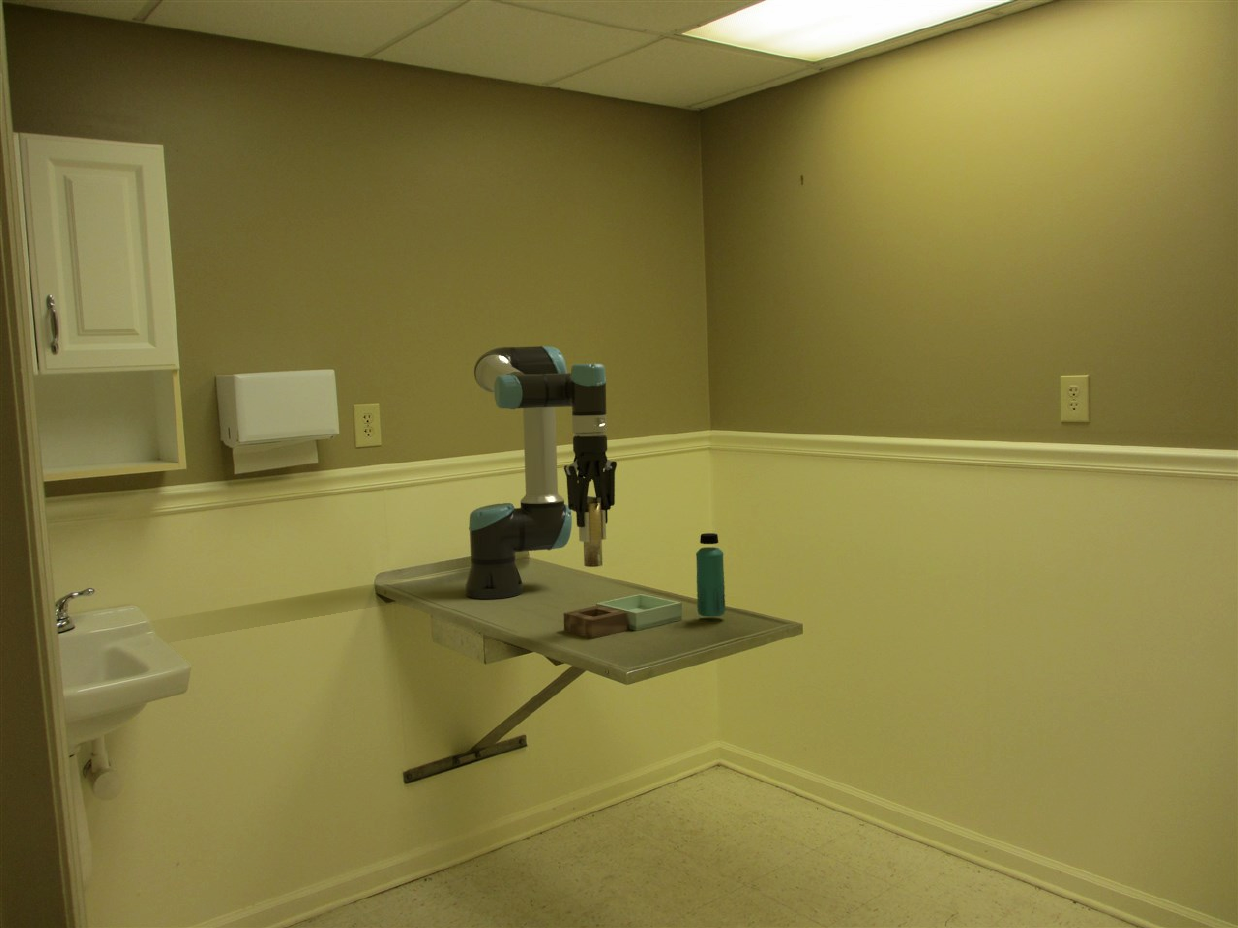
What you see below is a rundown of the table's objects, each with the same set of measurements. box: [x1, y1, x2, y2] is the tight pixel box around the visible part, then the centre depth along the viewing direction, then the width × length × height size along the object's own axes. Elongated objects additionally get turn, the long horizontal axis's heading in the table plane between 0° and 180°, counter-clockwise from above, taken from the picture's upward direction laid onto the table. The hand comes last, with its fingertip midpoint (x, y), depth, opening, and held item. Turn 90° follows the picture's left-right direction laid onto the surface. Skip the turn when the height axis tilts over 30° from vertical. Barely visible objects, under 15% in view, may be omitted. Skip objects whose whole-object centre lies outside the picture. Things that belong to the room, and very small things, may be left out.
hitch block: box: [563, 605, 628, 639], centre depth 222 cm, size 10×10×4 cm
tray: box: [595, 593, 683, 632], centre depth 230 cm, size 14×14×4 cm
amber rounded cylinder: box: [583, 495, 603, 568], centre depth 220 cm, size 5×4×15 cm
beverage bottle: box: [695, 532, 727, 618], centre depth 228 cm, size 6×7×20 cm
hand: (592, 539), depth 220 cm, fingers closed on amber rounded cylinder, 4 cm apart
